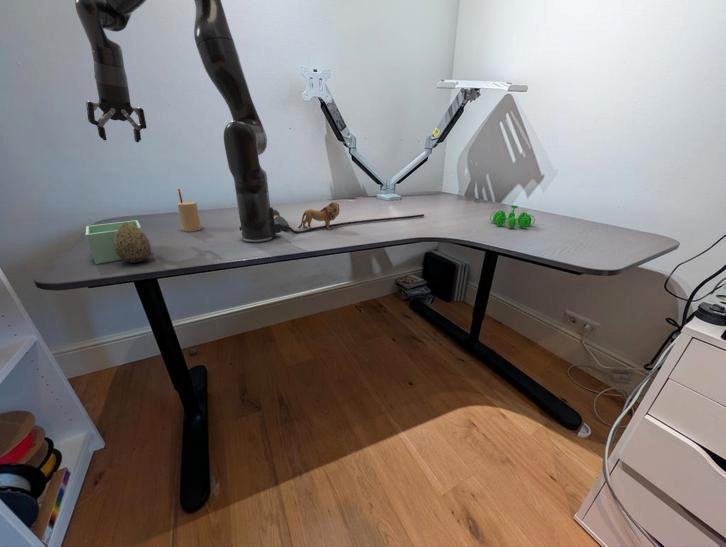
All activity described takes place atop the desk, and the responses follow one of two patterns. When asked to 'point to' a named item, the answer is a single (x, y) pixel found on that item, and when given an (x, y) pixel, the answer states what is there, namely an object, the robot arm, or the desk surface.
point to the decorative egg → (131, 244)
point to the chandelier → (512, 219)
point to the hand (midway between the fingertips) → (121, 140)
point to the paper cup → (189, 215)
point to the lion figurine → (321, 215)
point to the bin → (105, 240)
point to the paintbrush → (280, 219)
